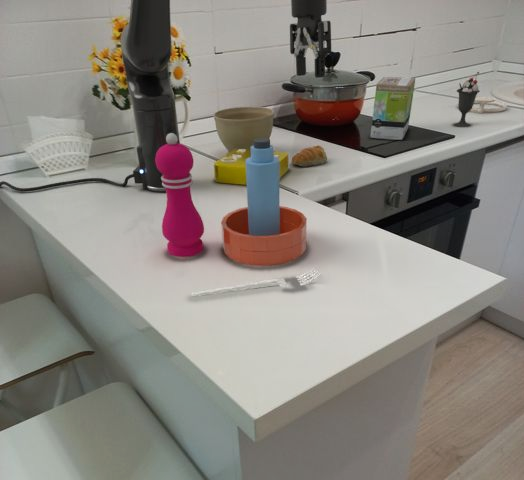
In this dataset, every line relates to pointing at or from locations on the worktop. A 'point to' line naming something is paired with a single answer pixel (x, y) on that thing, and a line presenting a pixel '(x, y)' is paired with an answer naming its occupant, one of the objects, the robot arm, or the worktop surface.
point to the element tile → (242, 166)
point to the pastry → (310, 156)
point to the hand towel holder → (487, 101)
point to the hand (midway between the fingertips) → (310, 76)
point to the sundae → (466, 99)
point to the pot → (264, 239)
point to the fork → (260, 284)
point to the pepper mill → (179, 200)
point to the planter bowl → (243, 126)
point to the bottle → (263, 189)
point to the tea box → (392, 107)
